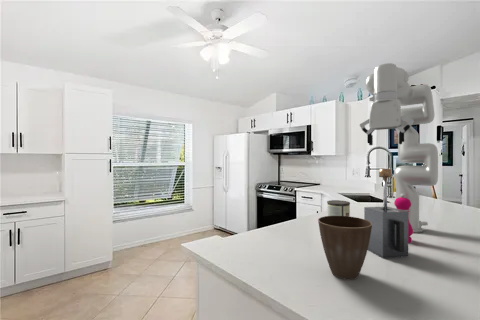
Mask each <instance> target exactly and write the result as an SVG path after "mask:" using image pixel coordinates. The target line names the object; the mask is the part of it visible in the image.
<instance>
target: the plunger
mask: <svg viewBox="0 0 480 320" xmlns="http://www.w3.org/2000/svg"><path fill="white" fill-rule="evenodd" d="M392 174H393V173H392V169H391V168H379V169H378V177H379V178H383V182H382V183H383V186H382V187H383V188H382V189H383V196H382V197H383V203H382V204H383V206H382V207H383V210H387V206H388V178H392Z"/></svg>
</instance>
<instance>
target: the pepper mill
mask: <svg viewBox="0 0 480 320" xmlns="http://www.w3.org/2000/svg"><path fill="white" fill-rule="evenodd" d="M404 197H405V195H404V194H401V195H400V197H399V198H397V199H396V198H395V200H394V202H393V203H394V206H395V208H396V207H397V208H396V209H400V210H404V211H408V214H409V213H410V212H409V211H410V210H409V208H410V207H411V202H410V200H409V199H407V198H404ZM413 234H414V233H413V229H412V226H411V224H410V222H409V218H408V244H410V243H412V241H413V239H412V238H413V237H411V236H412V235H413Z"/></svg>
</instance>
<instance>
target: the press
mask: <svg viewBox="0 0 480 320" xmlns="http://www.w3.org/2000/svg"><path fill="white" fill-rule="evenodd" d="M363 209H364V210H363V211H364V215H363V216H364V218H363V219H365V220H368V221H370V222H371V223H372V229H371V235H370V241H369V246H368V250H367V252H368V251H369V252H370V253H372V254H374V255H376V256H378V257H379V258H381V259H392V258H409V243H408V211H404V210H400V209H396V207H391V206H388V205H387V210H383V206H365V207H364V208H363Z"/></svg>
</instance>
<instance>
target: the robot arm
mask: <svg viewBox="0 0 480 320" xmlns="http://www.w3.org/2000/svg"><path fill="white" fill-rule="evenodd" d="M408 81H409V74H408V72H407V71H406V70H405V69H404V68H402V67H397V65H396V64H395V63H392V62H391V63H383V64H378V65H377V66H376V67H375V68H374V70H373V73H372V74H370V75H368V76H367V78H366V79H365V86H366V89H367V92H368V93H369V94H370V95H371V96H372V97H369V98H368V99H369V102H372V103H371V104H370V110H369V116H368V117H369V118H368V119H367V120H364V121H363V122H362V123H360V124H359V127H360V128H361V130H362V131H363V132H364V133H365V134H366V135H367V144H368V145H369V146H373V144H374V143H373V142H374V141H373V138H374V137H373V133H374V132H375V131H376V130H377V131H381V130H382V131H383V130H393V129H394V130H395V131H396V133H397V137H398V140H397V141H398V143H397V156H398V157H397V158H398V160H399V162H401V163H405V164H425V165H400V166H396V167H395V168H394V170H393V178H394V183H395V200H396V199H397V198H399V197H400V195H401V194H404V195H405V197H404V198H407V199H409V200H410V202H411V207H410V208H409V210H410V211H409V212H410V213H409V214H408V218H409V222H410V224H411V226H412V229H413V234H417V233H423V232H424V228H423V227H424V226H428V224H429V223H428V221H421V220H420V194H419V192H418V191H417V189H416V188H415V187H414V186H422V187H423V186H425V187H434V186H435V185H437V184H438V182H439V150H438V148H437V146H436V144H434V143H429V142H427V143H425V142H424V143H420V142H419V141H420V140H419V139H420V138H419V137H420V134H419V133H418V131H417V130H416V129H415V128H414V127H413V126H415V125H425V124H426V125H427V124H430V123H432V122H433V121H434V118H435V107H434V100H433V92H432V90H431V87H430V86H429V85H428V84H426V83H424V84H418V85H417V84H416V85H412V86H410V83H408ZM421 104H422V106H421ZM414 105H420V106H414ZM404 106H405V107H404ZM406 106H412V107H406ZM401 107H403V108H401ZM367 125H368V126H369V129H367V128H366V126H367ZM395 208H397V207H396V206H395Z"/></svg>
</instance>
